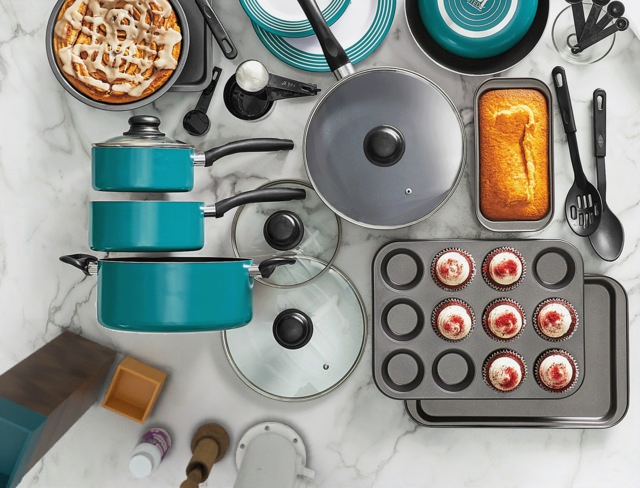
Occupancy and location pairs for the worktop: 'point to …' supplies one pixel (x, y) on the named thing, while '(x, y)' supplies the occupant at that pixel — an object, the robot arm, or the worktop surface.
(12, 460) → the teal bin
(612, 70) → the worktop surface
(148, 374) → the amber bin
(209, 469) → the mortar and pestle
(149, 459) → the pill bottle
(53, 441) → the riser
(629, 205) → the worktop surface
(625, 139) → the worktop surface
